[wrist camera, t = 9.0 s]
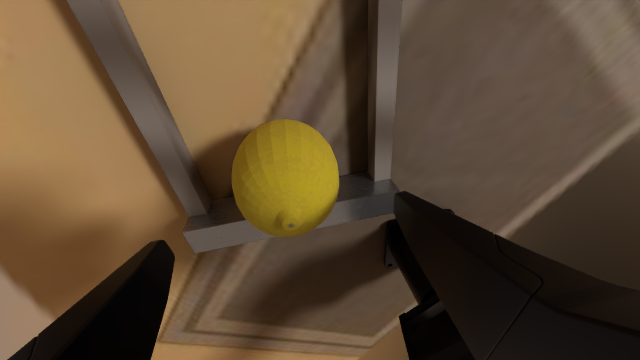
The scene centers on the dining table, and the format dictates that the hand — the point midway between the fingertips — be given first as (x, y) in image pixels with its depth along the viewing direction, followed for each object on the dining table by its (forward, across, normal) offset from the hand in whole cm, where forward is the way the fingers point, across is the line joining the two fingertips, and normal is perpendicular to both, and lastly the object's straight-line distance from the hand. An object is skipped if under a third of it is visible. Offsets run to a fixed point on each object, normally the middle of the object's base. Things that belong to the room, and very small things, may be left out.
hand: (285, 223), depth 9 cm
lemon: (+8, 0, 0) cm, 8 cm away
